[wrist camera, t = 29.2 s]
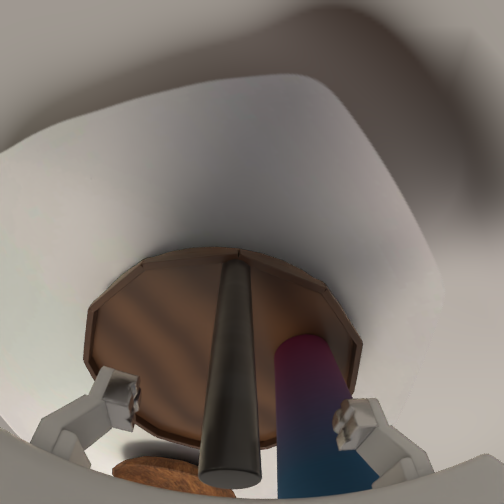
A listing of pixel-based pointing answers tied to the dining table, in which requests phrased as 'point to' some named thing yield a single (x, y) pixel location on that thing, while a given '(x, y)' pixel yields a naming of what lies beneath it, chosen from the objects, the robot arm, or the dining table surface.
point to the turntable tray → (184, 331)
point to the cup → (312, 424)
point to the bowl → (167, 475)
